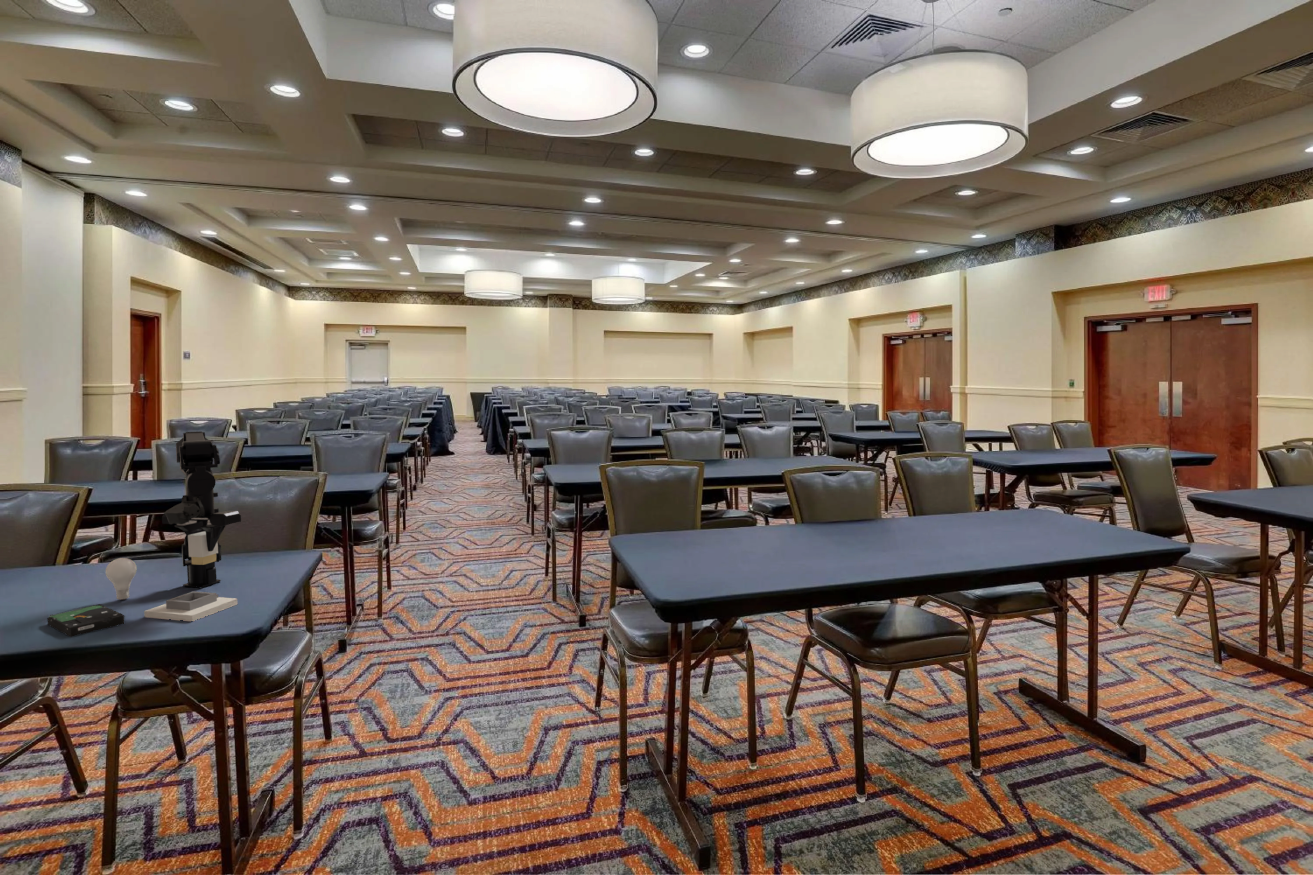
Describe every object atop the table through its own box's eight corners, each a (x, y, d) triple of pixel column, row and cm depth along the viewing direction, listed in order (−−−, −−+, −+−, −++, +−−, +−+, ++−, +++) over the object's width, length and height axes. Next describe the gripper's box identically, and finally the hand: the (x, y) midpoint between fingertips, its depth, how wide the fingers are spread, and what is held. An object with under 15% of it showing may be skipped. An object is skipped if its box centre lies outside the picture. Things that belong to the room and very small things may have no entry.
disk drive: (126, 626, 161) (100, 613, 169) (125, 614, 160) (99, 602, 168) (70, 639, 152) (46, 626, 160) (69, 627, 152) (45, 614, 160)
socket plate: (144, 617, 165) (143, 602, 164) (192, 600, 177) (191, 587, 177) (192, 621, 162) (191, 607, 161) (237, 604, 174) (236, 590, 174)
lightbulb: (144, 597, 180) (141, 556, 179) (118, 604, 174) (115, 562, 173) (127, 595, 182) (125, 554, 181) (101, 602, 176) (98, 560, 175)
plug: (189, 564, 173) (187, 535, 173) (205, 559, 178) (203, 531, 177) (202, 565, 172) (201, 535, 172) (218, 560, 177) (217, 531, 176)
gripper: (139, 494, 168) (143, 556, 169) (204, 495, 164) (207, 559, 165) (180, 488, 179) (183, 547, 180) (241, 489, 175) (244, 549, 176)
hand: (203, 550), depth 175 cm, fingers closed on plug, 4 cm apart
